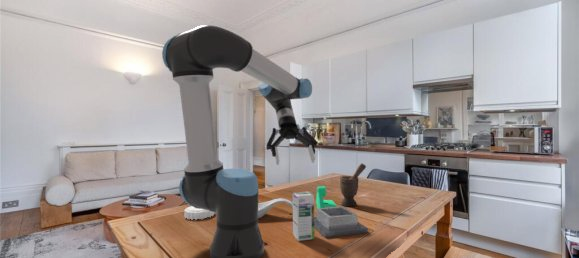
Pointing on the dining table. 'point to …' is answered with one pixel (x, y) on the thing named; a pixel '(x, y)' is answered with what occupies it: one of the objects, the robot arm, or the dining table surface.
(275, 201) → the spoon rest
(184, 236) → the dining table surface
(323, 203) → the camera mount
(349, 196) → the mortar and pestle
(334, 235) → the docking sleeve
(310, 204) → the syrup box
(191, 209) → the mooncake
